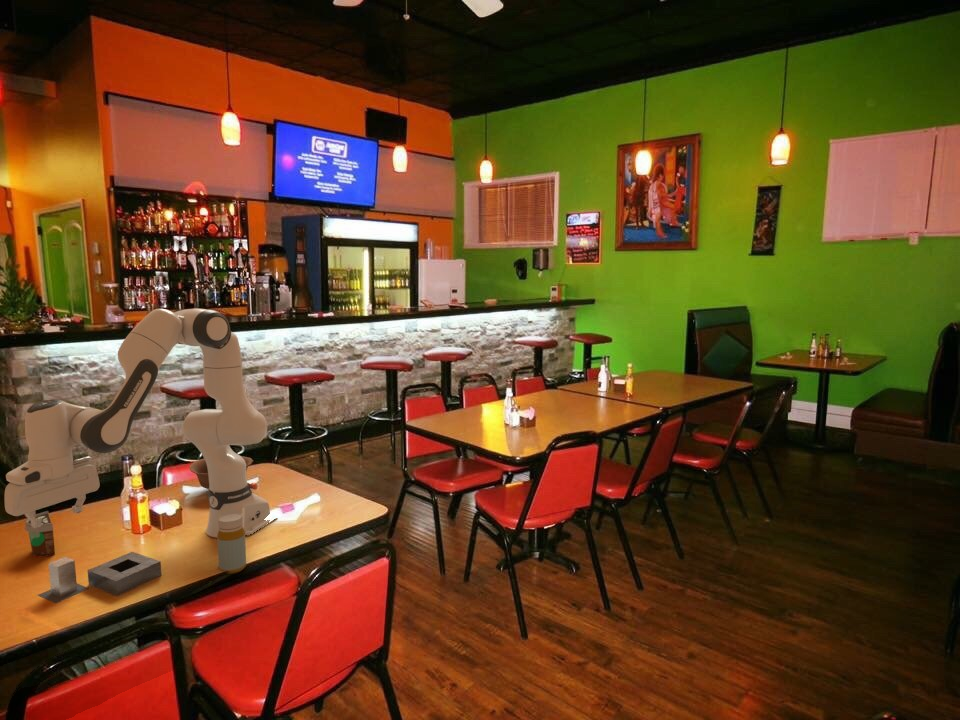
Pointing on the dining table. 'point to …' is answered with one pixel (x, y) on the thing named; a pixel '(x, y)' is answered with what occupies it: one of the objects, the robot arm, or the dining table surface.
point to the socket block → (124, 573)
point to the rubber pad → (56, 599)
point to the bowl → (202, 470)
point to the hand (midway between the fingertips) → (57, 519)
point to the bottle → (231, 543)
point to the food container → (41, 535)
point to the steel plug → (62, 576)
